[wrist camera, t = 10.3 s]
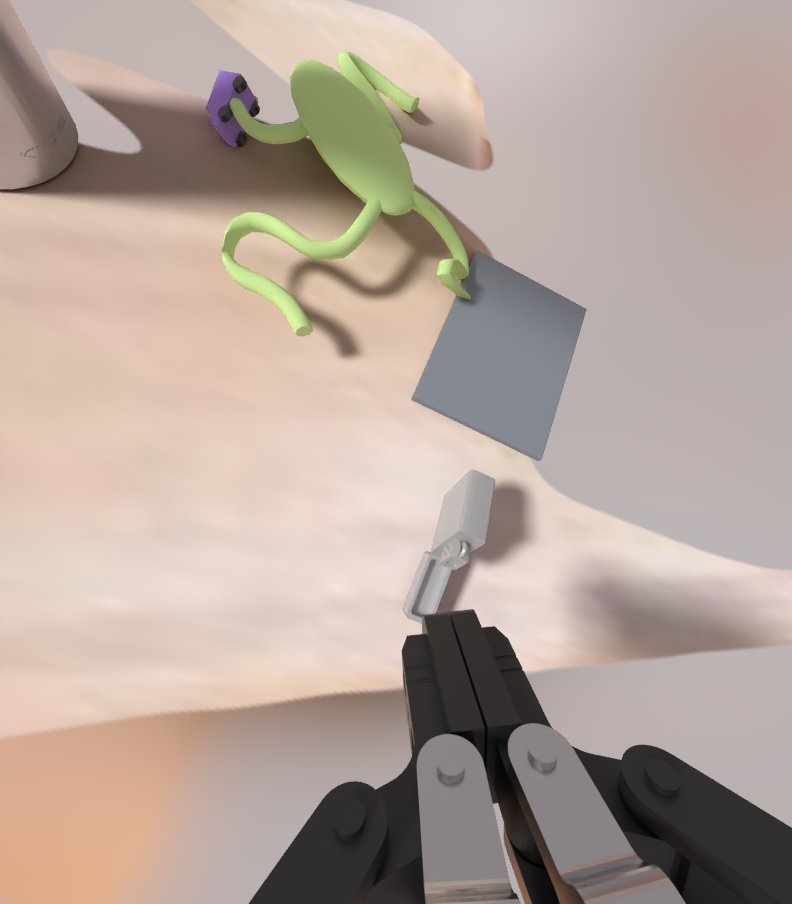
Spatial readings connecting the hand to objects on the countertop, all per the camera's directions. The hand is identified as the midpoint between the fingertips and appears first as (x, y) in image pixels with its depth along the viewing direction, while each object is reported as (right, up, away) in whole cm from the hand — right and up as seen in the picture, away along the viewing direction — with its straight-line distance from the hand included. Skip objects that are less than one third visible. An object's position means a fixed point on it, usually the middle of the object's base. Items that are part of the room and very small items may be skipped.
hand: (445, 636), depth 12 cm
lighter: (+3, +2, +16) cm, 16 cm away
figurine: (-6, +25, +22) cm, 34 cm away
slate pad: (+7, +14, +21) cm, 26 cm away
